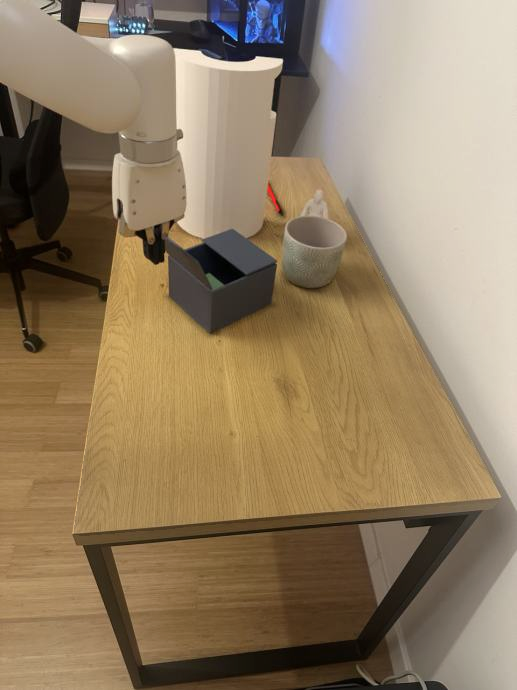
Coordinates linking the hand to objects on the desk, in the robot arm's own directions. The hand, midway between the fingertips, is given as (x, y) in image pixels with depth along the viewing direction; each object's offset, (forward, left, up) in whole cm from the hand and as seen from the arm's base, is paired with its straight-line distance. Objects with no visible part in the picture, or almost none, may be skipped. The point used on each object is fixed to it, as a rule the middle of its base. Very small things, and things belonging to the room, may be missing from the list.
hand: (154, 259), depth 79 cm
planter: (+33, +11, -15) cm, 38 cm away
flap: (+5, +2, -1) cm, 5 cm away
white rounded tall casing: (+19, +32, -15) cm, 40 cm away
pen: (+36, +45, -15) cm, 60 cm away
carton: (+13, +6, -15) cm, 21 cm away
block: (+10, +5, -15) cm, 18 cm away
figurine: (+38, +23, -15) cm, 47 cm away
